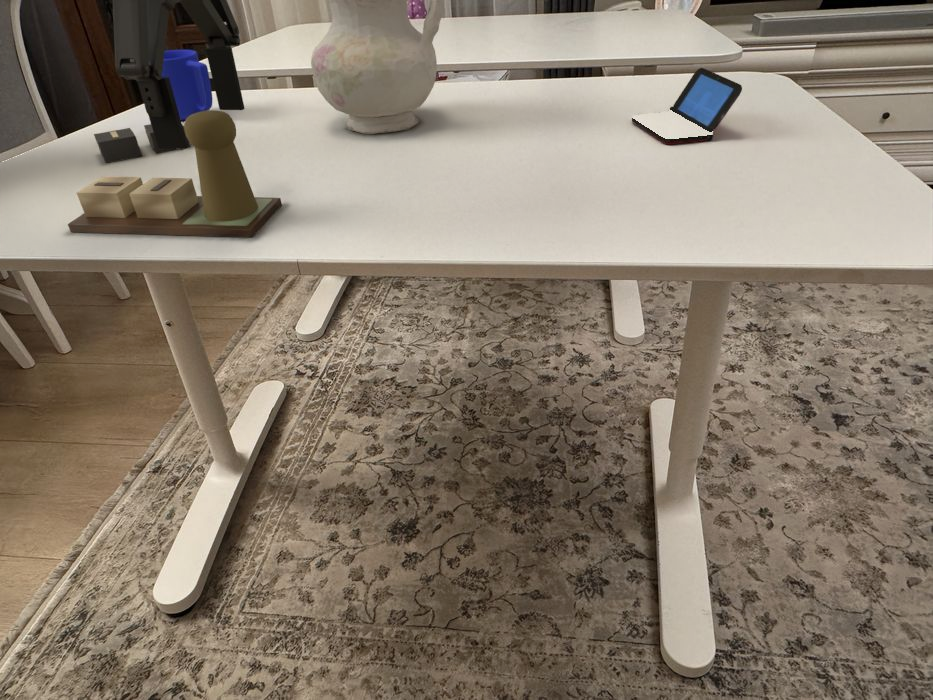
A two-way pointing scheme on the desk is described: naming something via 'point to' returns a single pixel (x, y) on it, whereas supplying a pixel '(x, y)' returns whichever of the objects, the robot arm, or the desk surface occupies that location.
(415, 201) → the desk surface
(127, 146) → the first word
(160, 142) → the robot arm
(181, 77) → the mug
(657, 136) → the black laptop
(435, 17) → the ceramic pitcher
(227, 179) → the olive chess pawn
